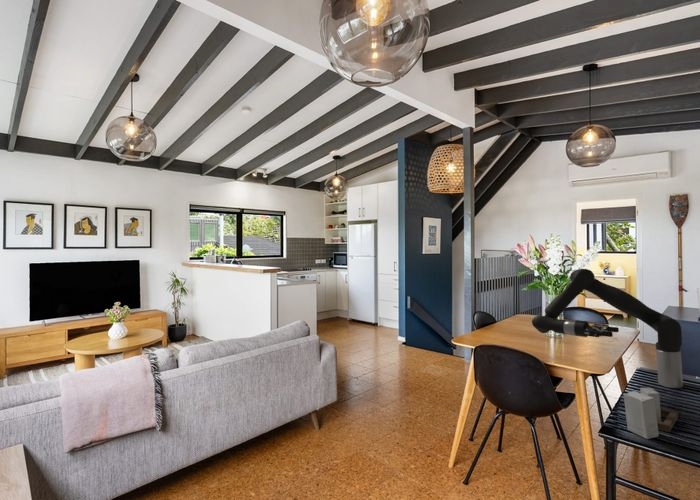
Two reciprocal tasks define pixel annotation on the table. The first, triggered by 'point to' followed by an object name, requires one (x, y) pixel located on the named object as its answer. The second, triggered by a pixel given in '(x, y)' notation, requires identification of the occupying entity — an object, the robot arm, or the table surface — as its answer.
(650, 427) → the skincare box
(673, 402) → the table surface
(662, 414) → the walnut collar
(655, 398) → the skincare box
